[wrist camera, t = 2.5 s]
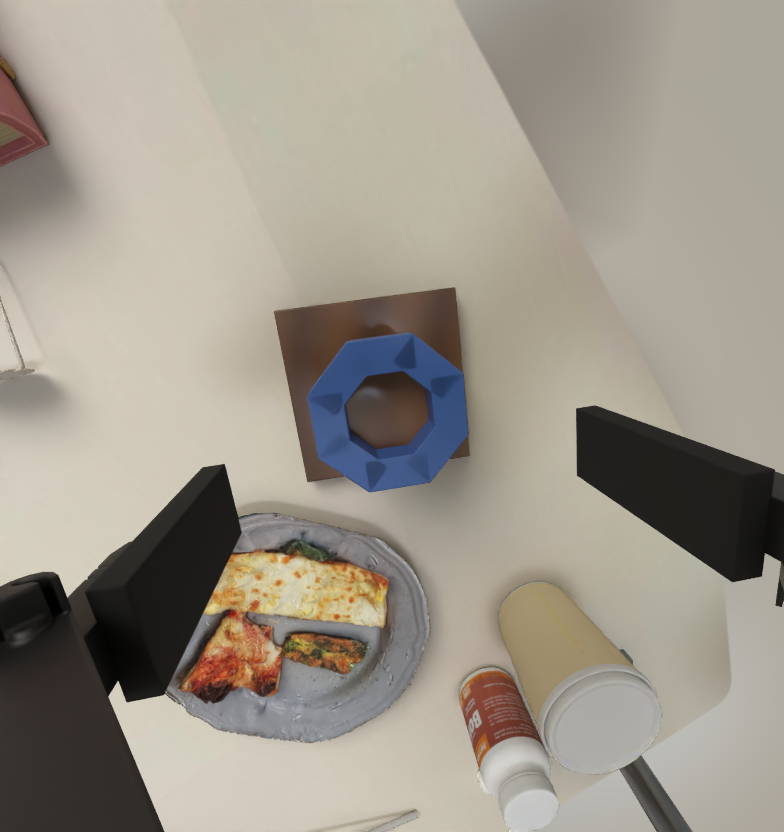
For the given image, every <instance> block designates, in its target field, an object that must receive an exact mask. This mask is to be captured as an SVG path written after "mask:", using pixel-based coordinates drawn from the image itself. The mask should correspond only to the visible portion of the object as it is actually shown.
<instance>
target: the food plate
mask: <svg viewBox="0 0 784 832" xmlns="http://www.w3.org/2000/svg"><path fill="white" fill-rule="evenodd" d="M238 519H239V523H240V527H241V531H242V534H241V536H240V538H239V540H238V542H237V544H236V546H235V548H234V550H233V552H232V555H231V557H230V559H229V561H228V563H227V565H226V567H225V569H224V571H223V573H222V575H221V577H220V579H219V582H218V584H217V586H216V588H215V590H214V592H213V594H212V596H211V598H210V600H209V602H208V604H207V607H206V609H205V611H204V613H203V615H202V617H201V619H200V621H199V623H198V625H197V627H196V629H195V632H194V634H193V636H192V638H191V640H190V642H189V644H188V646H187V648H186V650H185V652H184V654H183V657H182V659H181V661H180V663H179V665H178V667H177V669H176V671H175V673H174V675H173V677H172V679H171V682H170V684H169V686H168V688H167V690H166V692H165V694H166V695H167V696H168V697H169V698H171V699H172V700H173V701H174V702H178V703H179V704H182V706H184V707H185V708H186V711H187V712H188V713H189V714H190V715H193V716H194V717H198V718H200V719H202V720H204V721H205V722H207V723H208V724H210V725H211V726H212V727H214V728H216V729H217V730H222V731H226V732H227V731H229V732H231V733H234V732H236V733H237V734H241V733H242V734H246V735H248V736H251V735H252V736H260V737H262V738H268V739H269V738H271V739H272V737H273V738H274V739H280V740H284V741H286V740H289V741H290V740H291V741H293V742H294V741H295V742H296V740H299V741H300V742H303V741H304V742H306V743H313V742H317V741H324V740H331V739H333V738H336V737H339V736H341V735H343V734H345V733H349V732H351V731H353V730H354V729H355V728H357V727H358V726H361V725H363V724H365V723H366V722H367V721H369V720H371V719H373V718H375V717H376V716H377V715H379V714H381V713H383V712H384V711H385V710H386V709H388V708H390V706H391V705H393V703H394V702H395V701H396V700H397V699H398V698H399V697H400V696H401V694H402V693H403V692H404V690H405V689H406V688H407V687H408V686H409V685H411V683H410V682H411V679H413V677H414V674H415V673H416V671H417V669H418V666H419V662H420V660H421V657H422V654H423V651H424V648H425V646H426V644H427V642H426V641H427V640H428V637H429V635H430V620H429V617H428V616H429V614H428V611H427V609H426V608H427V604H426V602H427V601H426V598H425V595H424V592H423V588H422V586H421V585H420V582H419V580H418V577H416V574H415V572H413V570H412V569H411V567H410V566H409V565H408V563H406V561H405V560H404V559H402V557H401V556H400V555H399V554H398V553H396V552H395V551H394V550H393V549H391V548H390V547H389V546H387V544H385V543H384V541H382V540H381V539H380V538H377V537H376V538H375V537H372V536H368V535H366V534H361V533H356V532H351V531H348V530H343V529H341V528H339V527H337V528H336V527H334V526H329V525H324V524H320V523H314V522H311V521H306V520H302V519H297V518H292V517H290V516H284V515H282V516H281V514H279V516H277V513H273V514H272V513H270V514H269V513H268V514H266V513H265V514H264V513H263V514H262V513H259V514H258V513H254V514H250V515H244V516H241V517H238ZM371 537H372V538H371ZM178 703H177V704H178Z"/></svg>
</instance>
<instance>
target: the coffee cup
mask: <svg viewBox="0 0 784 832" xmlns="http://www.w3.org/2000/svg"><path fill="white" fill-rule="evenodd" d="M498 624H499V628H500V631H501V634H502V637H503V640H504V642H505V645H506V648H507V650H508V653H509V655H510V658H511V660H512V663H513V666H514V668H515V671H516V673H517V676H518V678H519V681H520V683H521V686H522V688H523V691H524V693H525V696H526V699H527V701H528V704H529V706H530V709H531V711H532V714H533V716H534V718H535V721H536V723H537V726H538V728H539V734H540V737H541V740H542V742H543V745H544V746H545V748H546V750H547V751H548V753H549V754H550V755H551V756H552V757H553V758H554V759H556V760H557V761H558V762H559V763H560V764H561V765H562V766H563V767H565V768H566V769H568V770H570V771H573V772H576V773H580V774H586V775H596V774H604V773H608V772H612V771H615V770H618V769H620V768H622V767H624V766H626V765H628V764H630V763H631V762H633V761H634V760H636V759H637V758H638V757H640V756H641V755H642V754H643V753H644V752H645V751H646V750H647V749H648V748H649V746H650V745H651V744H652V743H653V741H654V739H655V738H656V736H657V734H658V731H659V728H660V725H661V719H662V713H661V706H660V703H659V700H658V696H657V693H656V691H655V689H654V687H653V686H652V684H651V683H650V682H649V680H648V679H647V678H646V677H645V676H644V675H643V674H641V673H640V672H639V671H637V670H636V669H635V667H634V666H633V665H632V664H631V663H630V662H629V661H628V660H627V658H626V657H625V656H624V655H623V654H622V653H621V652H620V651H619V650H618V649H617V648H616V646H615V645H614V644H613V643H612V642H611V641H610V640H609V639H608V638H607V637H606V636H605V635H604V634H603V632H602V631H601V630H600V629H599V628H598V627H597V626H596V625H595V624H594V623H593V622H592V621H591V620H590V618H589V617H588V616H587V615H586V614H585V613H584V612H583V611H582V610H581V609H580V608H579V607H578V606H577V604H576V603H575V602H574V601H573V600H572V599H571V598H570V597H569V596H568V595H567V594H566V593H565V592H564V591H563V590H562V589H560V588H559V587H557V586H556V585H554V584H551V583H548V582H531V583H527V584H524V585H522V586H520V587H518V588H517V589H515V590H514V591H512V592H511V593H510V594H509V595H508V596H507V597H506V599H505V600H504V601H503V603H502V605H501V607H500V610H499V615H498Z"/></svg>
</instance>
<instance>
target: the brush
mask: <svg viewBox="0 0 784 832" xmlns="http://www.w3.org/2000/svg"><path fill="white" fill-rule="evenodd" d="M416 818H418V816H417V812H416V811H413V812H411V813H409V814H406V815H404V816H401V817H399V818H397V819H394V820H392V821H390V822H387V823H385V824H382V825H380V826H378V827H375V828H373V829H370V830H368V831H366V832H385V831H388V830H390V829H392V828H395V827H397V826H399V825H402V824H404V823H406V822H409V821H411V820H414V819H416Z"/></svg>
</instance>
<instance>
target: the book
mask: <svg viewBox="0 0 784 832" xmlns="http://www.w3.org/2000/svg"><path fill="white" fill-rule="evenodd" d="M15 77H16V76H15V74H14V72H13V71H12V69H11V68H10V67H9V66H8V65H7V63H6V62H5V61H4V60H3V59H2V57H1V56H0V166H2V165H4V164H6V163H8V162H11V161H13V160H15V159H17V158H19V157H21V156H24V155H26V154H28V153H30V152H32V151H34V150H37V149H39V148H41V147H43V146H45V145H47V144H48V143H47V141H46V139H45V138H44V136H43V134H42V133H41V131H40V129H39V127H38V126H37V124H36V122H35V121H34V119H33V117H32V116H31V114H30V112H29V111H28V109H27V107H26V106H25V104H24V102H23V100H22V99H21V97H20V95H19V94H18V92H17V90H16V89H15V87H14V85H13V84H12V82H11V80H10V79H13V80H14V79H15Z"/></svg>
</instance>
